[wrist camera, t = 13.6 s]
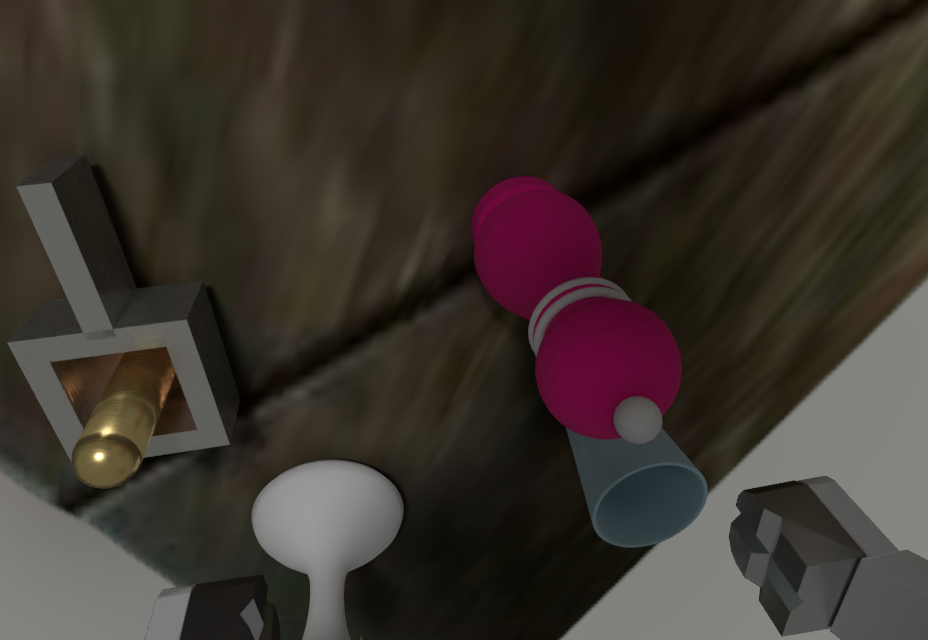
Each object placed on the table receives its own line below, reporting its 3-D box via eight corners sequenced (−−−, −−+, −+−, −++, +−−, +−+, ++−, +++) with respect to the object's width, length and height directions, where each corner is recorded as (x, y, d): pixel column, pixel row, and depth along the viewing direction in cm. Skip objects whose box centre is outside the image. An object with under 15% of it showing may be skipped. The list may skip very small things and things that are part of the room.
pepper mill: (472, 284, 41) (559, 524, 24) (453, 181, 37) (540, 381, 21) (578, 260, 42) (735, 480, 25) (569, 155, 38) (749, 331, 21)
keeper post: (65, 307, 38) (-28, 430, 28) (202, 290, 38) (156, 404, 29) (112, 409, 42) (45, 545, 33) (234, 392, 43) (203, 520, 33)
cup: (561, 361, 46) (612, 463, 37) (655, 366, 48) (726, 463, 39) (537, 440, 50) (579, 548, 41) (626, 441, 51) (684, 546, 43)
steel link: (-23, 164, 32) (-73, 195, 28) (160, 146, 33) (136, 173, 29) (99, 418, 41) (74, 467, 37) (240, 398, 42) (229, 444, 38)
